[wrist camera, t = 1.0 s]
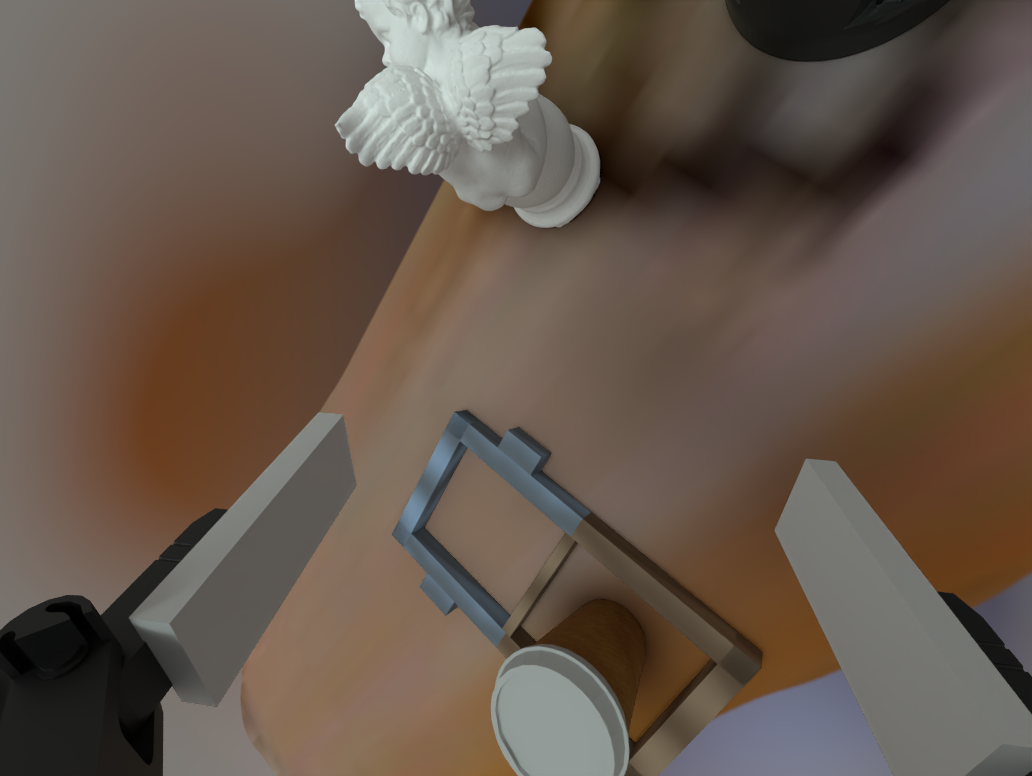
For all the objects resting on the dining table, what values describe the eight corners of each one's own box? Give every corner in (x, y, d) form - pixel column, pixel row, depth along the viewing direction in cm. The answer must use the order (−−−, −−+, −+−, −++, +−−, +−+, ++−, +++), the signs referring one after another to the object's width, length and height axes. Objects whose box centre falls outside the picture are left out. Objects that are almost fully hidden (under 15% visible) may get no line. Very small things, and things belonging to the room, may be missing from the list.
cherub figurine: (526, 114, 41) (308, -116, 22) (663, 109, 35) (530, -212, 16) (498, 250, 43) (275, 148, 24) (625, 267, 37) (463, 149, 18)
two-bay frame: (475, 393, 45) (463, 394, 43) (779, 633, 32) (780, 648, 31) (398, 542, 51) (384, 548, 49) (629, 792, 38) (622, 812, 37)
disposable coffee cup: (550, 578, 41) (474, 649, 31) (654, 582, 37) (606, 667, 26) (568, 684, 41) (497, 792, 30) (677, 702, 36) (636, 837, 26)
